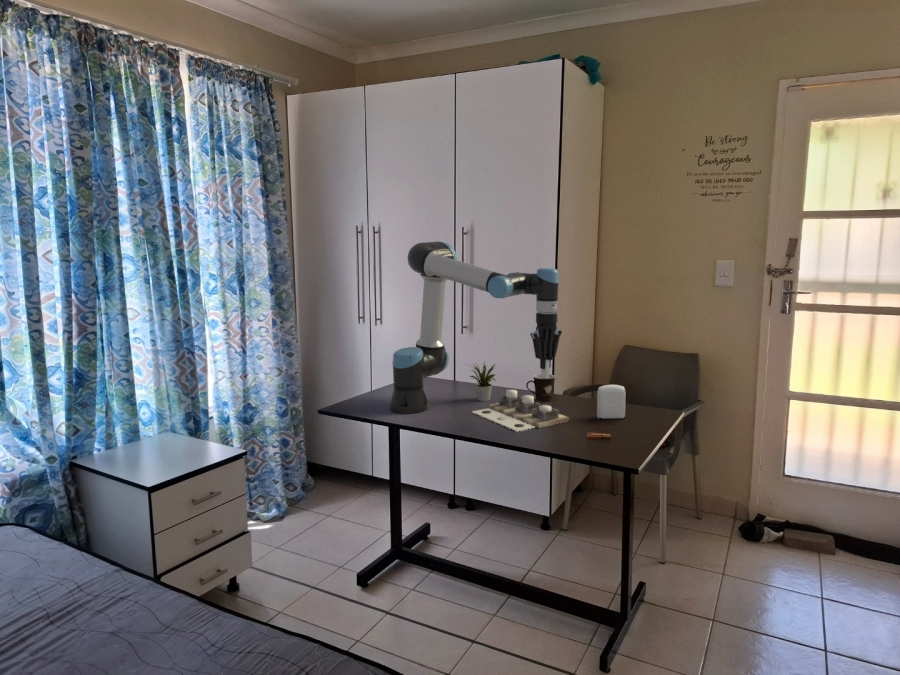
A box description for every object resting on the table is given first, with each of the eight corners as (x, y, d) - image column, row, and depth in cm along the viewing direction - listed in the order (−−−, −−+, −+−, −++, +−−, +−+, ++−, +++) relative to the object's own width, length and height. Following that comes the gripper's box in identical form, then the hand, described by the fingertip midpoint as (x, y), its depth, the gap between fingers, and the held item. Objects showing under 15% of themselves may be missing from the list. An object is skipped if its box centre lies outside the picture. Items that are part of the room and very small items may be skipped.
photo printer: (598, 419, 232) (599, 386, 230) (595, 415, 236) (596, 383, 234) (626, 419, 232) (627, 386, 230) (623, 415, 236) (624, 383, 234)
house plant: (461, 404, 254) (461, 364, 251) (464, 395, 268) (464, 357, 265) (497, 405, 252) (497, 365, 249) (498, 395, 266) (498, 357, 263)
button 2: (536, 415, 231) (536, 406, 230) (545, 413, 233) (546, 404, 233) (544, 418, 227) (544, 409, 227) (553, 416, 230) (554, 407, 229)
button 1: (503, 399, 247) (503, 390, 247) (512, 397, 250) (512, 389, 249) (510, 401, 244) (510, 393, 243) (519, 400, 246) (519, 391, 245)
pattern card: (471, 412, 242) (471, 411, 242) (488, 409, 246) (488, 407, 246) (517, 432, 219) (517, 430, 219) (535, 428, 223) (535, 426, 223)
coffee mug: (553, 397, 262) (554, 373, 261) (555, 403, 254) (555, 378, 252) (525, 397, 263) (525, 373, 262) (526, 402, 255) (526, 378, 253)
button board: (489, 408, 248) (489, 397, 247) (517, 402, 255) (517, 391, 254) (539, 428, 223) (539, 415, 222) (569, 421, 230) (569, 409, 229)
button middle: (519, 405, 239) (519, 396, 238) (528, 403, 241) (528, 394, 241) (527, 408, 235) (527, 398, 235) (536, 406, 238) (536, 397, 237)
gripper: (539, 315, 217) (537, 381, 221) (567, 312, 224) (565, 377, 228) (525, 312, 223) (524, 377, 228) (553, 309, 230) (551, 372, 234)
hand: (545, 377), depth 228 cm, fingers closed
